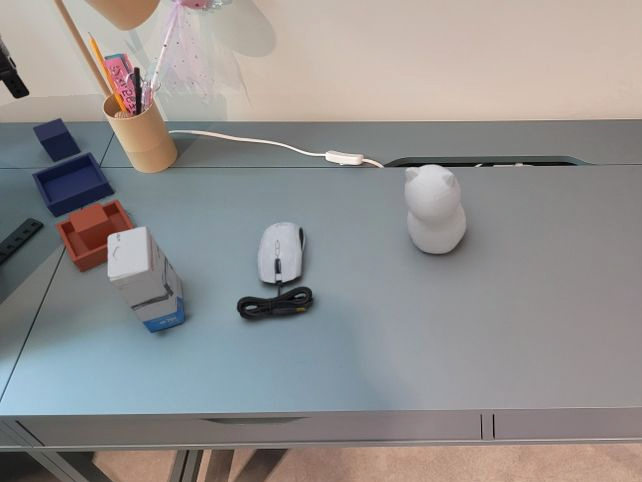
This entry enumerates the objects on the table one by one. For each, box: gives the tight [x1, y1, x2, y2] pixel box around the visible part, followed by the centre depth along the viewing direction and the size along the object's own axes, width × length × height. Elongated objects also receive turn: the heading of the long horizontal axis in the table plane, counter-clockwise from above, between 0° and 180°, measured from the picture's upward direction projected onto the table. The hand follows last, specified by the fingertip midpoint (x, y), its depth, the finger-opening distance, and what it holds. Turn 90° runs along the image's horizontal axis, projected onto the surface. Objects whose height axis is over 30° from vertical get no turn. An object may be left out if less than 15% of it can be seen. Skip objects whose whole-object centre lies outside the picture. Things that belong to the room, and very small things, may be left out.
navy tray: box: [31, 151, 115, 218], centre depth 105 cm, size 9×9×2 cm
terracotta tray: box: [55, 198, 135, 273], centre depth 98 cm, size 9×9×2 cm
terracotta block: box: [67, 202, 118, 251], centre depth 97 cm, size 4×4×4 cm
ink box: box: [107, 225, 185, 333], centre depth 87 cm, size 9×5×12 cm, turn 21°
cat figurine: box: [403, 164, 467, 255], centre depth 95 cm, size 9×12×15 cm
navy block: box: [32, 117, 82, 163], centre depth 110 cm, size 4×4×4 cm
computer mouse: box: [236, 221, 314, 320], centre depth 94 cm, size 10×18×4 cm, turn 10°
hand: (16, 82), depth 99 cm, fingers open, 8 cm apart
